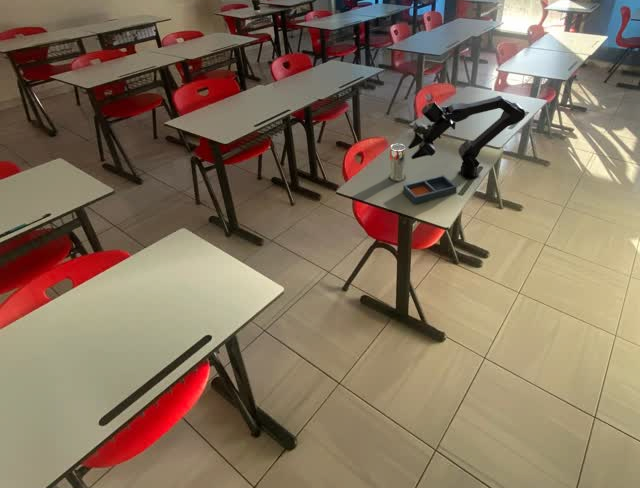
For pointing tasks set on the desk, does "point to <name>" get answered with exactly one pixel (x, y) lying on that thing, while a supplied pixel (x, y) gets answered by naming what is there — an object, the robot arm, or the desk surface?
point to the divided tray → (429, 189)
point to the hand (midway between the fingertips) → (410, 153)
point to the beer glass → (397, 161)
